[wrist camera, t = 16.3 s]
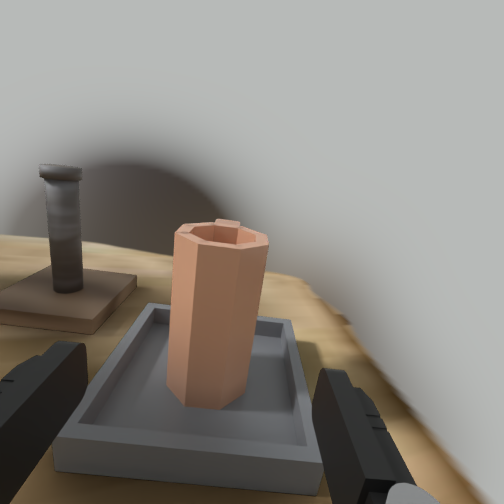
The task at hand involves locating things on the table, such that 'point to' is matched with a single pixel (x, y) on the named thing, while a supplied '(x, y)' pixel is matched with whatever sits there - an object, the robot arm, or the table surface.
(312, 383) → the table surface
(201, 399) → the sleeve
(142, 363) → the tray
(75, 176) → the stake stand
